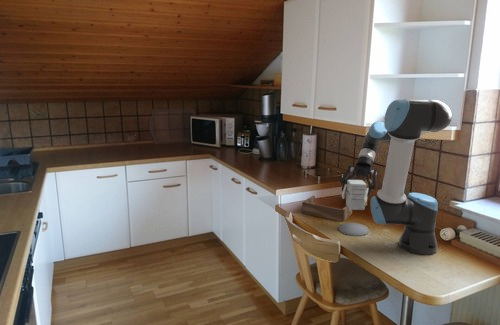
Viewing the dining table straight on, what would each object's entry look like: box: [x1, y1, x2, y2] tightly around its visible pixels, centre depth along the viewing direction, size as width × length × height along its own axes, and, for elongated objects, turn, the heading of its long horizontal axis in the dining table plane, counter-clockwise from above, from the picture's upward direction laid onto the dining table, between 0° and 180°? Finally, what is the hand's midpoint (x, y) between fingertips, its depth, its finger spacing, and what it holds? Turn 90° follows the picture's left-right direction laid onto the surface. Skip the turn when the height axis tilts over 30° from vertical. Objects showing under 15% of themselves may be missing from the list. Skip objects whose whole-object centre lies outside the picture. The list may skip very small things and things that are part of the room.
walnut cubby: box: [301, 195, 353, 223], centre depth 201 cm, size 14×23×6 cm, turn 58°
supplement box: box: [345, 179, 367, 211], centre depth 176 cm, size 7×7×13 cm
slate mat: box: [338, 222, 370, 237], centre depth 179 cm, size 14×14×1 cm
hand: (353, 199), depth 174 cm, fingers closed on supplement box, 10 cm apart
